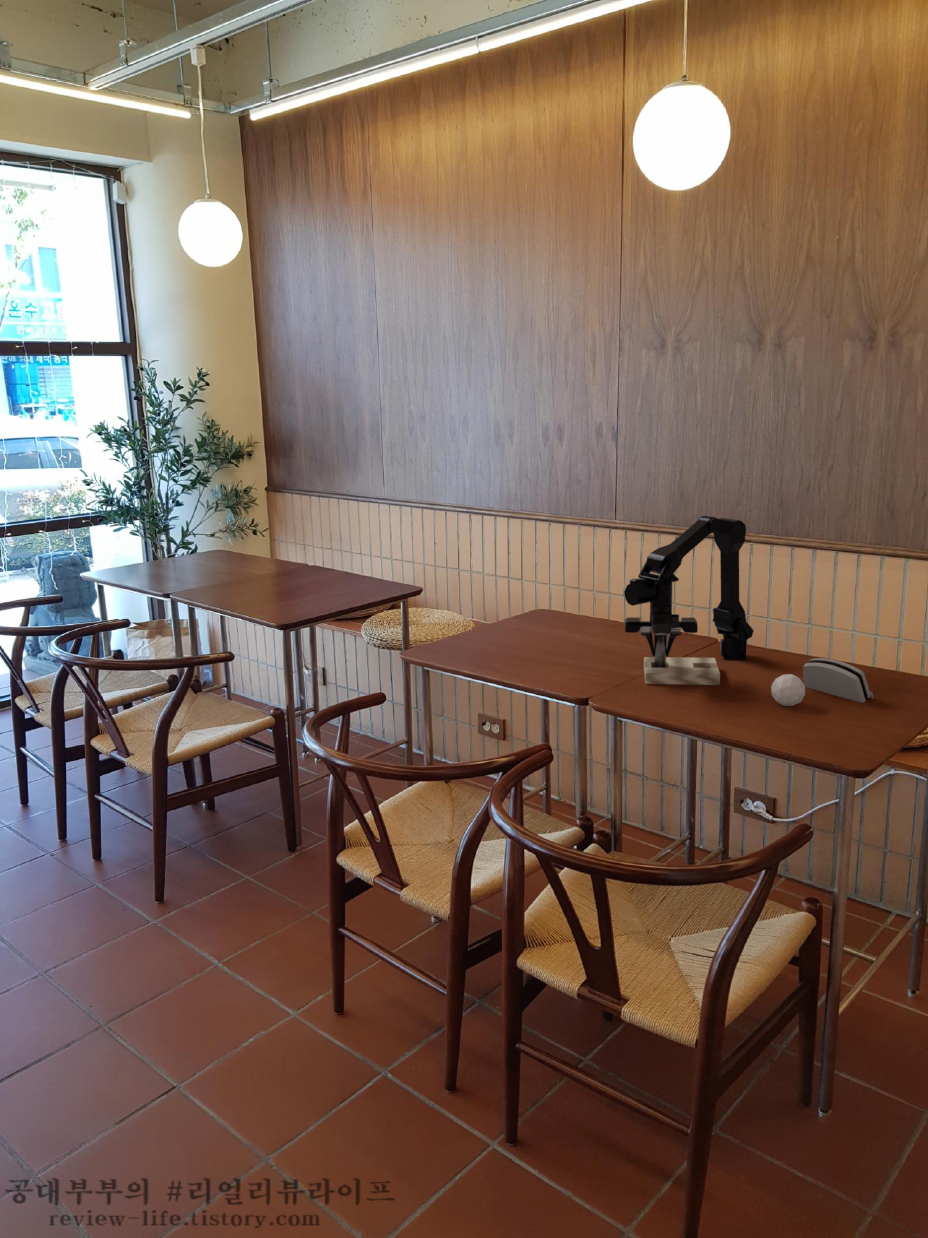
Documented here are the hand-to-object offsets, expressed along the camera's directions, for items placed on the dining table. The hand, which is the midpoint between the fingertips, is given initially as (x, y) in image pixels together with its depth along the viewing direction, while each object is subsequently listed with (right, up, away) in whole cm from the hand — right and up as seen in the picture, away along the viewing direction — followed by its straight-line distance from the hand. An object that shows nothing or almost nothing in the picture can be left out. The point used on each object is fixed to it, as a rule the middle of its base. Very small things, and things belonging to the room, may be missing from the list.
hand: (660, 655), depth 251 cm
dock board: (+6, -5, 0) cm, 8 cm away
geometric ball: (+26, -11, -23) cm, 37 cm away
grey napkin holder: (+40, -9, -17) cm, 44 cm away
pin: (0, -4, +1) cm, 4 cm away
